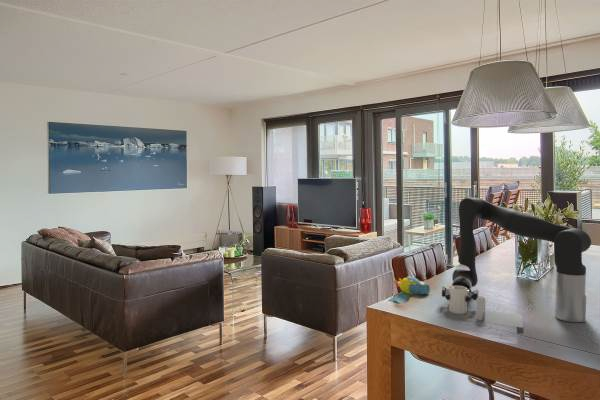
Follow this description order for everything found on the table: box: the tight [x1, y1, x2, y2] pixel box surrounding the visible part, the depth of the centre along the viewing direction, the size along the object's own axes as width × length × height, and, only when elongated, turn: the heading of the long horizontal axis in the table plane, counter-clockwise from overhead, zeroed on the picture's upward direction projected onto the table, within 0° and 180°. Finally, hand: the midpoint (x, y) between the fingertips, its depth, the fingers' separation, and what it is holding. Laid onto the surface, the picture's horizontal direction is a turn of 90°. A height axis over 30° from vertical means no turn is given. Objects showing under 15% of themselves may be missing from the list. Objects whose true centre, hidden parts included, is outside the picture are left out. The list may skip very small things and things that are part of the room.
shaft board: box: [438, 295, 524, 333], centre depth 161 cm, size 28×14×10 cm, turn 65°
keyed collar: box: [448, 285, 468, 314], centre depth 167 cm, size 7×6×9 cm
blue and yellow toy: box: [387, 275, 431, 304], centre depth 194 cm, size 28×9×15 cm
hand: (457, 298), depth 165 cm, fingers closed on keyed collar, 6 cm apart
